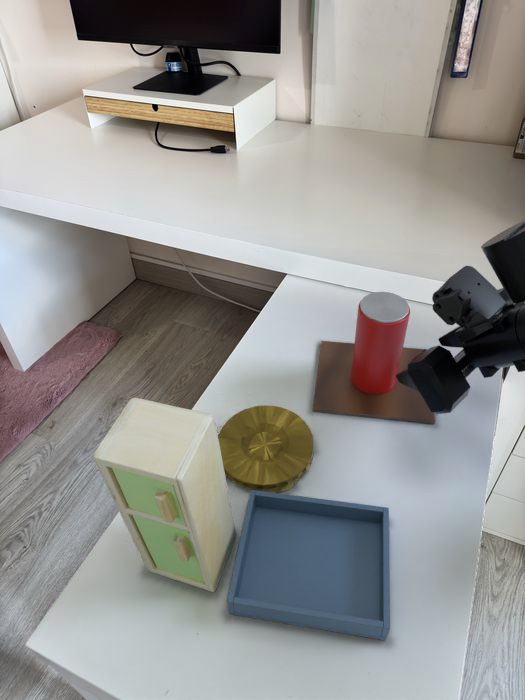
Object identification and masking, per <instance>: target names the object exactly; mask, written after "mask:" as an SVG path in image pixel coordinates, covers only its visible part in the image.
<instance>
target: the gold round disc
mask: <svg viewBox="0 0 525 700" xmlns="http://www.w3.org/2000/svg"><path fill="white" fill-rule="evenodd" d="M217 435H218V440H219V445H220V450H221V455H222V461H223V467H224V472H225V477H226V479H227V478H228V479H229V480H230V481H232V482H233V483H235V484H236V485H237V486H239V487H242V488H244V489H247V490H255V491H264V492H271V493H279V494H281V493H283V492H286V491H288V490H290V489H292V488H294V484H295V483H296V482H297V481H299V480H300V479H301V478H302V477H303V476H304V474H306V472H307V471H308V469H309V468H310V466H311V464H312V460H313V456H314V436H313V433H312V431H311V428H310V427H309V425H308V424H307V423H306V421H305V420H304V419H303V418H302V417H301V416H299V415H298V414H297V413H295V412H294V411H292V410H291V409H287V408H284V407H281V406H277V405H264V404H263V405H255V406H252V407H248V408H245V409H243V410H240V411H238V412H237V413H235V414H234V415H232V416H231V417H230V418H228V419H227V421H225V423H224V424H223V425H222V427H221V429H220V430H219V433H218V434H217Z"/></svg>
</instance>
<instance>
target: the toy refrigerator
mask: <svg viewBox="0 0 525 700" xmlns="http://www.w3.org/2000/svg"><path fill="white" fill-rule="evenodd" d="M218 435H219V434H218V430H217V425H216V420H215V417H214V416H213V415H211V414H209V413H206V412H202V411H199V410H194V409H189V408H184V407H179V406H176V405H171V404H170V405H169V404H166V403H162V402H158V401H152V400H149V399H143V398H140V397H132V398H130V399H129V400H128V402H127V403H126V405H125V406H124V408H123V409H122V411H121V412H120V413H119V415H118V417H117V418H116V419H115V421H114V423H113V424H112V426H111V427H110V428H109V430H108V432H107V433H106V435H105V436H104V437H103V439H102V441H101V442H100V444H99V445H98V446H97V448H96V450H95V451H94V454H93V455H92V456H93V457H92V459H93V461H94V463H95V466H96V468H97V469H98V472H99V474H100V476H101V478H102V479H103V482H104V484H105V486H106V488H107V490H108V492H109V494H110V496H111V498H112V500H113V502H114V504H115V506H116V508H117V510H118V512H119V514H120V516H121V518H122V520H123V523H124V525H125V526H126V529H127V530H128V533H129V535H130V537H131V540H132V541H133V543H134V545H135V547H136V549H137V552H138V553H139V555H140V557H141V559H142V561H143V564H144V566H145V567H146V569H147V571H148V572H151V573H153V574H156V575H159V576H162V577H165V578H168V579H171V580H174V581H177V582H181V583H184V584H187V585H190V586H192V587H197V588H199V589H202V590H205V591H208V592H212V593H214V592H215V591H216V590H217V588H218V585H219V584H220V581H221V579H222V576H223V573H224V571H225V569H226V565H227V562H228V560H229V557H230V556H231V555H230V554H231V552H232V549H233V547H234V544H235V541H236V539H237V531H236V524H235V520H234V514H233V510H232V503H231V498H230V492H229V487H228V483H227V478H226V477H225V472H224V467H223V461H222V455H221V450H220V445H219V440H218Z"/></svg>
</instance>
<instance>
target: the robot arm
mask: <svg viewBox="0 0 525 700" xmlns="http://www.w3.org/2000/svg"><path fill="white" fill-rule="evenodd" d="M480 248H481V250H482V253H483V254H484V256H485V258H486V259H487V261H488V263H489V265H490V266H491V268H492V271H493V273H494V274H495V276H496V277H497V280H498V281H499V283H500V284H501V286H502V288H499V289H497V288H496V287H495V286H494V285H493V284H492V283H491V282H490V281H489V280H488V279H487V278H485V277H484V275H483V274H481V272H479V271H478V270H477V268H474V267H473V266H471V265H464V266H463V267H462V268H460V269H459V270H458V271H456V272H455V273H453V275H451V276H450V277H449V278H448V279H447V280H446V281H444V283H443V284H442V285H441V286H440V287H439V288H438V289H437V290H436V291H435V292H433V293H432V297H431V301H432V302H433V303H432V311H433V312H434V313H435V314H436V315H437V316H438V317H439V318H440V319H441V320H442V321H443V322H444V323H445V324H446V325H448V326H454V325H455V324H456V325H457V326H456V327H455V328H453V329H452V330H450V331H448V332H446V333H445V334H443V335H441V336H440V337H439V338H437V339H438V342H439V344H440V345H435V346H431V347H430V348H427V350H426V348H423V349H424V350H423V351H422V352H421V353H420V354H418V355H417V356H416V357H415V358H414V359H413V360H412V361H411V362H410V363H409V364H408V369H406V370H404V371H402V372H400V373H398V374H397V375H396V378H397V379H398V381H399V382H400V383H401V384H403V385H405V386H408V387H410V388H412V389H414V390H416V391H418V392H420V394H421V396H422V397H423V399H424V401H425V402H426V404H427V406H428V408H429V409H430V411H431V413H434V414H435V415H441V414H450V413H452V412H453V411H454V410H455V409H456V408H457V407H458V406H459V405H460V403H462V402H463V401H464V400H465V399H466V398H467V397H468V396H469V393H470V390H471V385H470V383H469V382H468V380H467V378H468V377H469V376H470V375H471V374H472V373H473V372H474V371H475V370H476V369H478V370H479V371H480V373H481V375H482V377H483V378H484V379H486V378H492V377H493V376H494V375H496V373H497V372H498V371H499V370H500V369H504V368H507V367H515V369H516V371H517V373H522V372H525V219H524V220H523V221H520V222H518V223H515V224H514V225H512V226H510V227H508V228H506V229H505V230H502V231H501V232H499V233H498V234H496V235H495V236H492V237H491V238H490V239H488V240H487V241H486V242H484V243H483V244H482V245H481V246H480ZM445 347H448V348H459V349H460V348H462V349H461V350H460V351H459V352H458V353H457V354H455V356H453V354H452V352H451V350H449V349H447V348H445Z"/></svg>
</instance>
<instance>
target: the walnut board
mask: <svg viewBox="0 0 525 700" xmlns="http://www.w3.org/2000/svg"><path fill="white" fill-rule="evenodd" d="M424 349H426V348H416V347H415V348H414V347H404V346H403V351H402V356H401V361H400V366H399V371H398V373H400V372H402V371H404V370H406V369H408V364H409V363H410V362H411V361H412V360H413V359H414V358H415V357H416V356H417V355H418V354H420V353H421V352H422V351H423V350H424ZM427 349H428V348H427ZM427 349H426V350H427ZM353 352H354V343H352V342H342V341H329V340H328V341H327V340H321V343H320V351H319V357H318V366H317V375H316V382H315V389H314V397H313V404H312V412H317V413H325V414H336V415H344V416H345V415H346V416H355V417H365V418H372V419H373V418H374V419H384V420H394V421H402V422H403V421H404V422H410V423H411V422H412V423H422V424H423V423H424V424H431V425H435V423H436V417H435V415H436V414H435V413H431V411H430V409H429V408H428V406H427V404H426V402H425V401H424V399H423V397H422V396H421V394H420V392H418V391H416V390H414V389H412V388H410V387H408V386H405V385H403V384H401V383H400V382H399V381H398V379H397V381H396V385H395V386H394V388H393V389H392V390H390V391H389V392H387V393H384V394H369V393H365V392H363V391H361V390H359V389H358V388H357V387H356V386H355V385H354V384H353V382H352V380H351V370H352V361H353Z"/></svg>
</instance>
